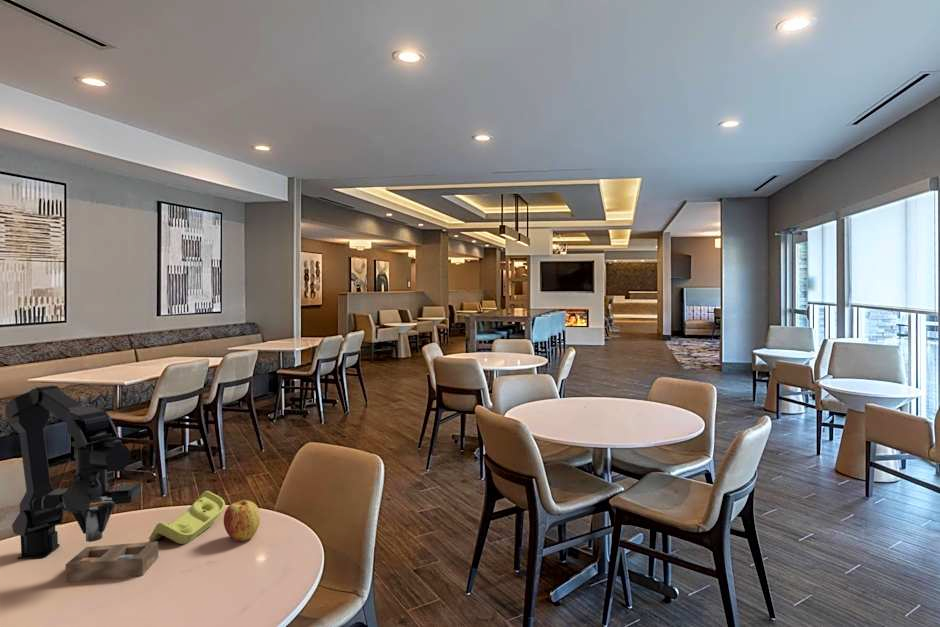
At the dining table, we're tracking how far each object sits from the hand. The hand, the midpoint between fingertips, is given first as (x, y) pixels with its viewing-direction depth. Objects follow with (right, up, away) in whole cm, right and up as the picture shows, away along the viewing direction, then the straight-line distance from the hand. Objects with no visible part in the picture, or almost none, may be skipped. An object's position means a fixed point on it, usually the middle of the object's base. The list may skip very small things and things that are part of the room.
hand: (93, 532), depth 130 cm
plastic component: (+11, -9, +23) cm, 27 cm away
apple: (+28, -8, +17) cm, 34 cm away
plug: (0, -2, 0) cm, 2 cm away
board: (+4, -9, +1) cm, 10 cm away
